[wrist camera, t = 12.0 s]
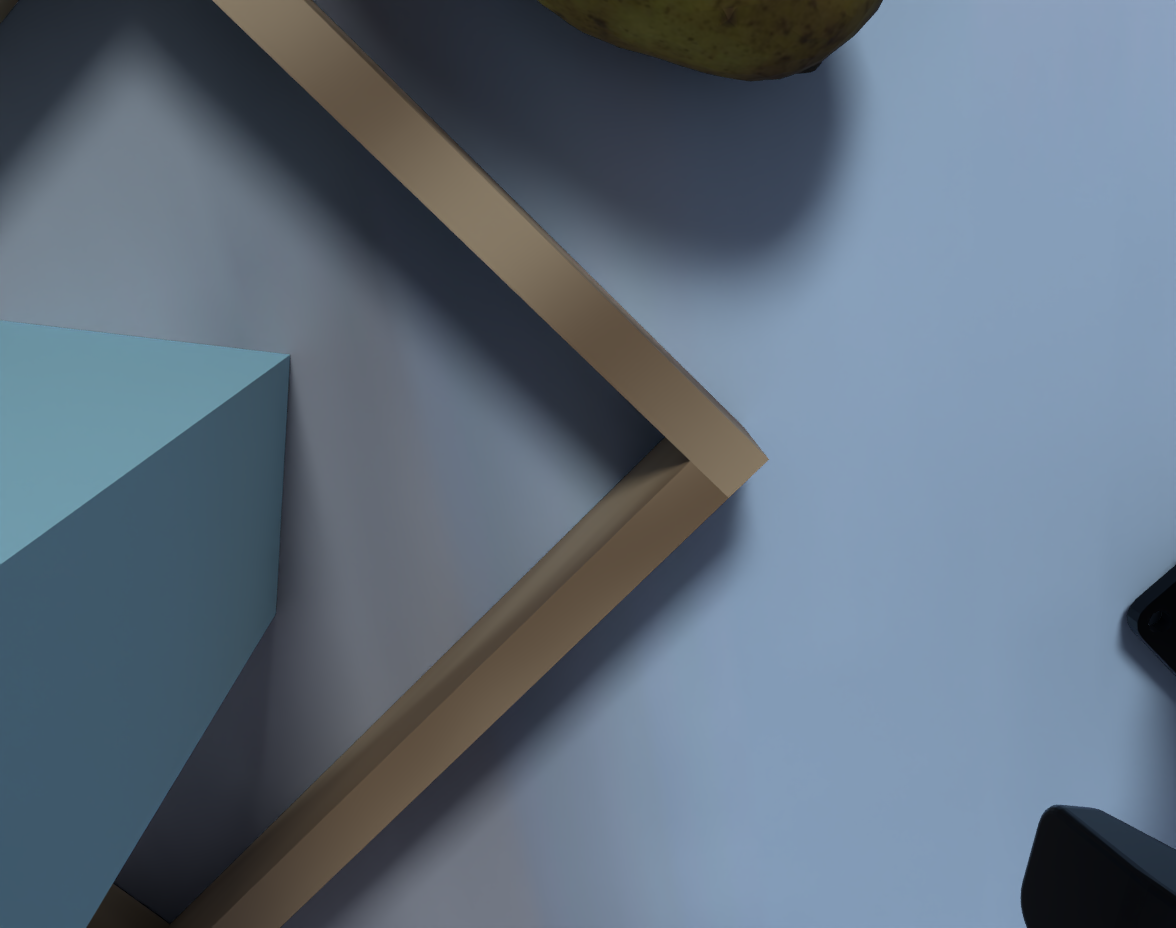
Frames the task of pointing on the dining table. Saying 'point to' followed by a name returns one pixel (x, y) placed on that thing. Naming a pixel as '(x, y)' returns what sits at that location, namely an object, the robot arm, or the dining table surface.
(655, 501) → the light wood flat frame
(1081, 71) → the dining table surface
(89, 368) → the milk carton
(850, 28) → the potato
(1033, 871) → the robot arm
